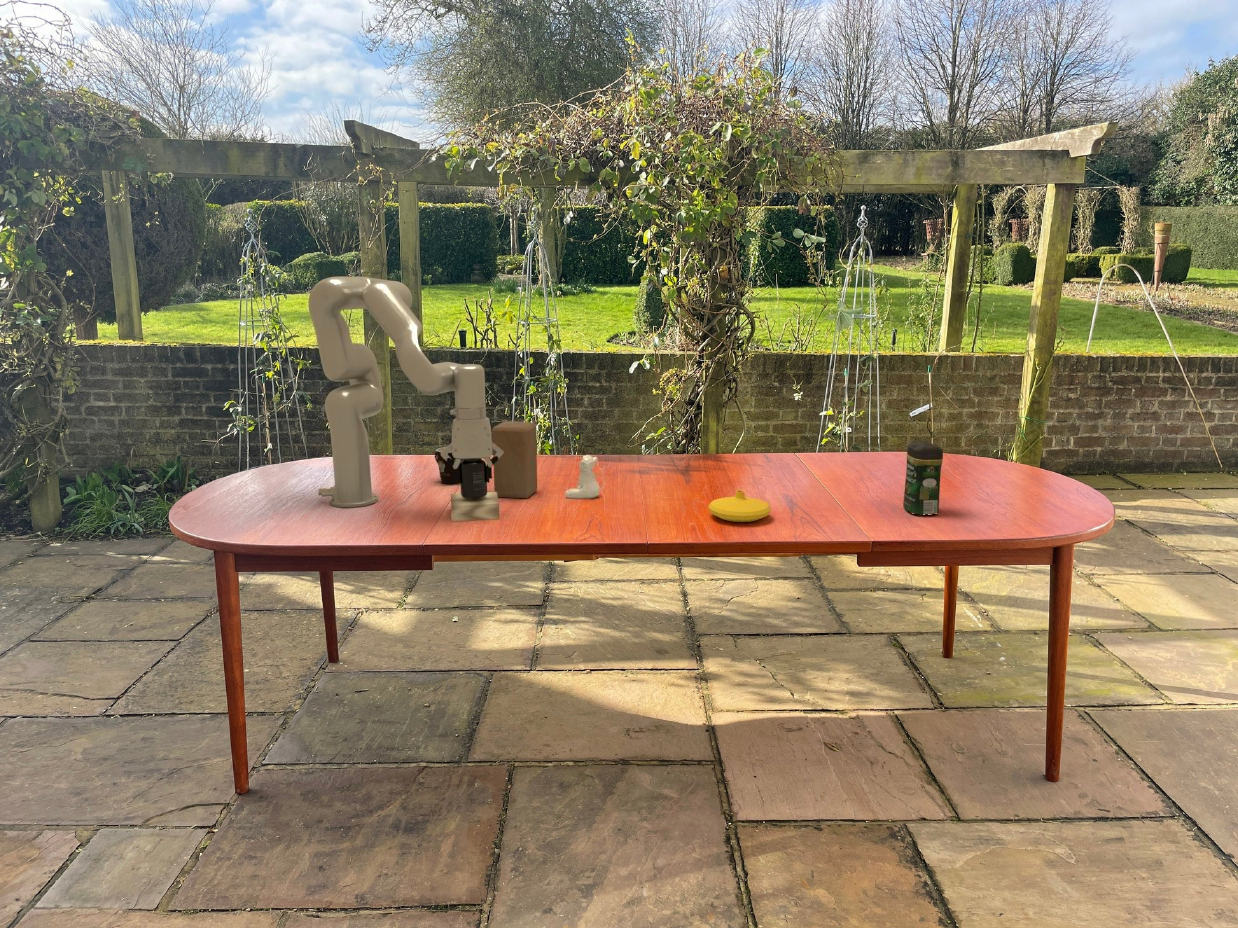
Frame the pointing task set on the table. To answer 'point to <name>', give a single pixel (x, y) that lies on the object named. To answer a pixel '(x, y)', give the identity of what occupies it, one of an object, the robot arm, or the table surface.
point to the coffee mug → (445, 468)
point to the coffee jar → (923, 478)
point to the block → (515, 459)
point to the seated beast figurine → (585, 481)
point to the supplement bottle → (473, 478)
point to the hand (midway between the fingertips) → (473, 481)
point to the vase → (739, 508)
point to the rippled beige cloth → (474, 507)
